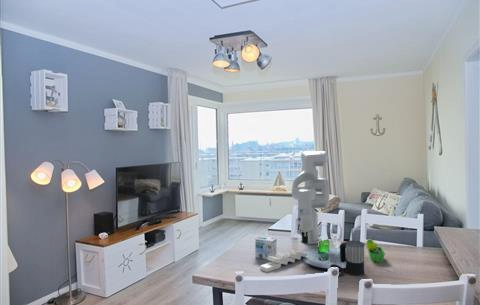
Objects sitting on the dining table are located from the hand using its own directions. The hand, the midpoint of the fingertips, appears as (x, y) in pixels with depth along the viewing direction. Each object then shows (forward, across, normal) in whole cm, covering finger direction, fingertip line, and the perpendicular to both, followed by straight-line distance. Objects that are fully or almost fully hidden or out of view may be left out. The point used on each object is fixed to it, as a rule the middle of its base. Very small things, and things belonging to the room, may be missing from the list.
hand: (304, 242), depth 192 cm
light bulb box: (+8, -18, +14) cm, 24 cm away
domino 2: (+6, -18, 0) cm, 19 cm away
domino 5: (+6, -1, 0) cm, 7 cm away
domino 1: (+6, -24, 0) cm, 24 cm away
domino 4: (+6, -7, 0) cm, 10 cm away
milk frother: (+8, -5, -30) cm, 31 cm away
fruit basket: (+8, +23, -30) cm, 39 cm away
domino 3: (+6, -13, -1) cm, 14 cm away
